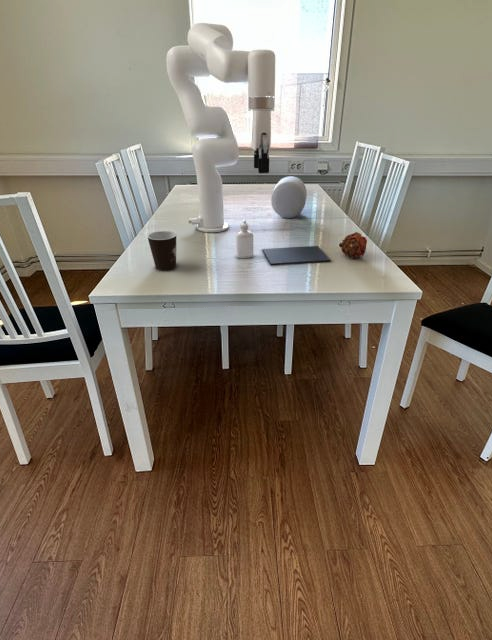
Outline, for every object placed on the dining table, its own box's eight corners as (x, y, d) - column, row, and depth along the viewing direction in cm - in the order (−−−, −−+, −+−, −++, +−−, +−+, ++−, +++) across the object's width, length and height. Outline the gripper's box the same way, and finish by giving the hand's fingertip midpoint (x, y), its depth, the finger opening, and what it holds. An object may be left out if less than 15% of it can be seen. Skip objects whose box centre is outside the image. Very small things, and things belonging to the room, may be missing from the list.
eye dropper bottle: (251, 259, 130) (251, 222, 123) (235, 258, 131) (234, 221, 124) (254, 255, 133) (254, 218, 127) (238, 253, 134) (237, 217, 128)
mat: (270, 265, 126) (270, 263, 126) (262, 250, 137) (262, 248, 137) (330, 261, 129) (330, 259, 129) (317, 247, 140) (317, 245, 140)
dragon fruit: (352, 267, 129) (346, 259, 139) (375, 252, 126) (367, 245, 137) (339, 246, 126) (333, 239, 136) (363, 230, 123) (355, 224, 134)
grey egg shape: (255, 205, 170) (271, 185, 187) (277, 232, 175) (290, 210, 192) (288, 177, 158) (301, 158, 175) (310, 206, 163) (321, 185, 180)
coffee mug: (166, 274, 119) (162, 241, 114) (146, 268, 123) (141, 236, 117) (191, 262, 127) (188, 231, 122) (171, 257, 131) (167, 227, 126)
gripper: (244, 104, 119) (246, 166, 129) (252, 105, 105) (252, 175, 114) (269, 104, 120) (268, 166, 130) (280, 105, 106) (278, 174, 115)
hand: (261, 170), depth 122 cm, fingers open, 9 cm apart
